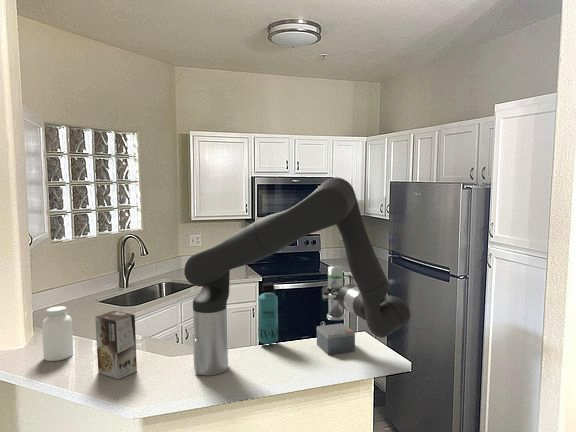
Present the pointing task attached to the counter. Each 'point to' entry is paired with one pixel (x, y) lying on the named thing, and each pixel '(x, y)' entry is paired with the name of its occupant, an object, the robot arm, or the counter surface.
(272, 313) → the beverage bottle
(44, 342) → the pill bottle
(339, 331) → the stand block
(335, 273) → the clear glass cylinder
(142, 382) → the counter surface
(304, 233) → the robot arm
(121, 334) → the coffee box
